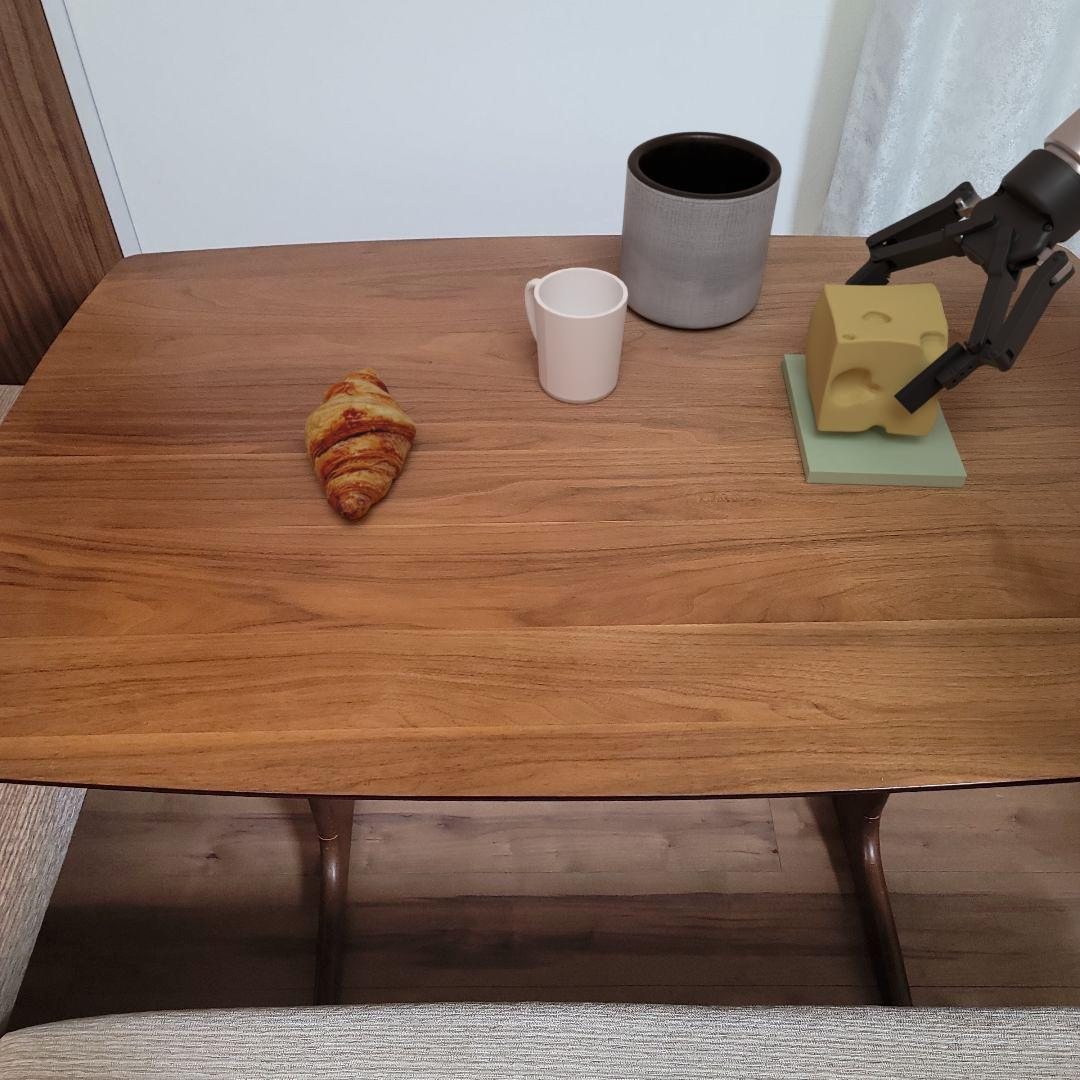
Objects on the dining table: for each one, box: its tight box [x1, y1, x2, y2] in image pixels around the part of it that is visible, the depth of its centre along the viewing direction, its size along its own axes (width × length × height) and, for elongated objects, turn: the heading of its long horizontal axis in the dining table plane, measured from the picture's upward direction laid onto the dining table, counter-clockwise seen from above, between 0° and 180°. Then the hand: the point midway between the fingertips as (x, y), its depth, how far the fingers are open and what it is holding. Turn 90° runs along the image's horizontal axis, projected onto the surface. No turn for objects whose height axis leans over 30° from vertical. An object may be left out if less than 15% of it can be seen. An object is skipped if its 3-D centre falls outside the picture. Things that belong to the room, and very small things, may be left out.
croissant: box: [303, 366, 417, 521], centre depth 85 cm, size 21×10×8 cm, turn 5°
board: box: [781, 353, 968, 489], centre depth 90 cm, size 18×14×2 cm
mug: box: [523, 267, 628, 405], centre depth 92 cm, size 11×9×10 cm
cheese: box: [804, 282, 949, 436], centre depth 84 cm, size 10×11×10 cm
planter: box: [617, 131, 783, 330], centre depth 100 cm, size 16×16×16 cm
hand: (862, 362), depth 84 cm, fingers closed on cheese, 12 cm apart
